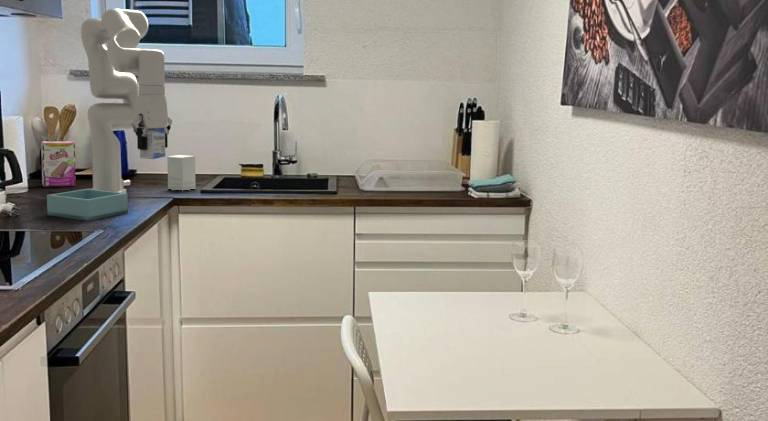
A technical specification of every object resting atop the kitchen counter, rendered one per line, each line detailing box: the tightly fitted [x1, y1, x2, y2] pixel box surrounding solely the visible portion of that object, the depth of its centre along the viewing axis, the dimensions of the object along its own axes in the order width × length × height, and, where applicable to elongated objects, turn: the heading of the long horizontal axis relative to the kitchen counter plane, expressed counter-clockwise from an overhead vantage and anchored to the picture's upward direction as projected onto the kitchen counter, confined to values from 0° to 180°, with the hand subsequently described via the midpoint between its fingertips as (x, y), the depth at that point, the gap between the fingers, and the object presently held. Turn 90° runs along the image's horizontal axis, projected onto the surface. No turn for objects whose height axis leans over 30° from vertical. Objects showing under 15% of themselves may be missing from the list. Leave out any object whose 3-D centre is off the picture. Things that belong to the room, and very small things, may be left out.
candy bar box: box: [40, 140, 77, 188], centre depth 279 cm, size 11×5×16 cm, turn 121°
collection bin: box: [46, 188, 129, 222], centre depth 227 cm, size 16×16×6 cm
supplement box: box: [167, 154, 196, 192], centre depth 280 cm, size 7×7×13 cm
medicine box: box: [139, 129, 166, 160], centre depth 231 cm, size 8×4×9 cm, turn 168°
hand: (152, 148), depth 231 cm, fingers closed on medicine box, 8 cm apart
